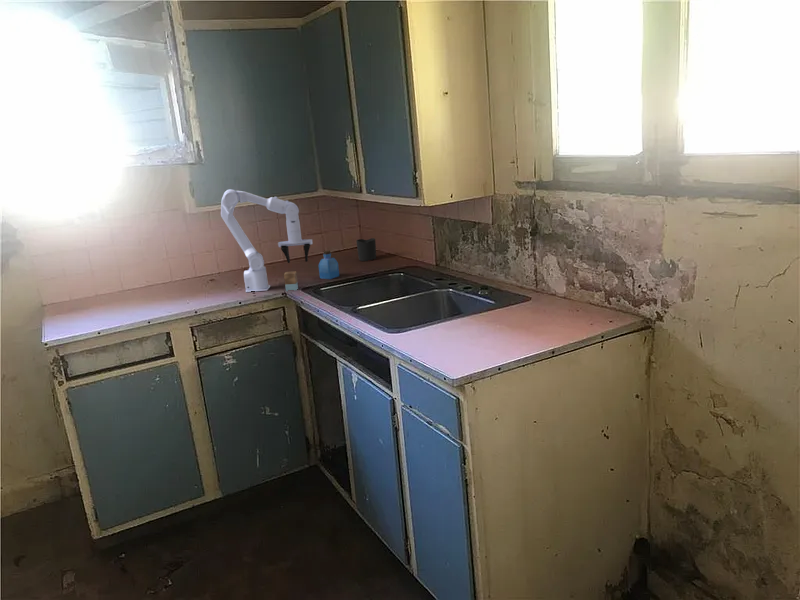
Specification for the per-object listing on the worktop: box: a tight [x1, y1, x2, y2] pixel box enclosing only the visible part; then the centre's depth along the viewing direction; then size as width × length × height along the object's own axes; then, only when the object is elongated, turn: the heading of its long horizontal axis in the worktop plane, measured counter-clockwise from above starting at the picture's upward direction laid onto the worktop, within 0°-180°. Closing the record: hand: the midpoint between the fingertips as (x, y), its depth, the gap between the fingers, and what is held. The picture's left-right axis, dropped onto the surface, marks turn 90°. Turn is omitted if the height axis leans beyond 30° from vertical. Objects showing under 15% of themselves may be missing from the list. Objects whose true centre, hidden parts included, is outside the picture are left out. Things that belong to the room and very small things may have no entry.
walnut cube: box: [283, 270, 298, 285], centre depth 277 cm, size 4×4×4 cm
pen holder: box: [356, 237, 377, 262], centre depth 325 cm, size 9×9×10 cm
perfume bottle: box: [318, 250, 340, 280], centre depth 293 cm, size 6×6×12 cm
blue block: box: [284, 281, 299, 292], centre depth 278 cm, size 5×5×3 cm
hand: (297, 261), depth 284 cm, fingers open, 7 cm apart
